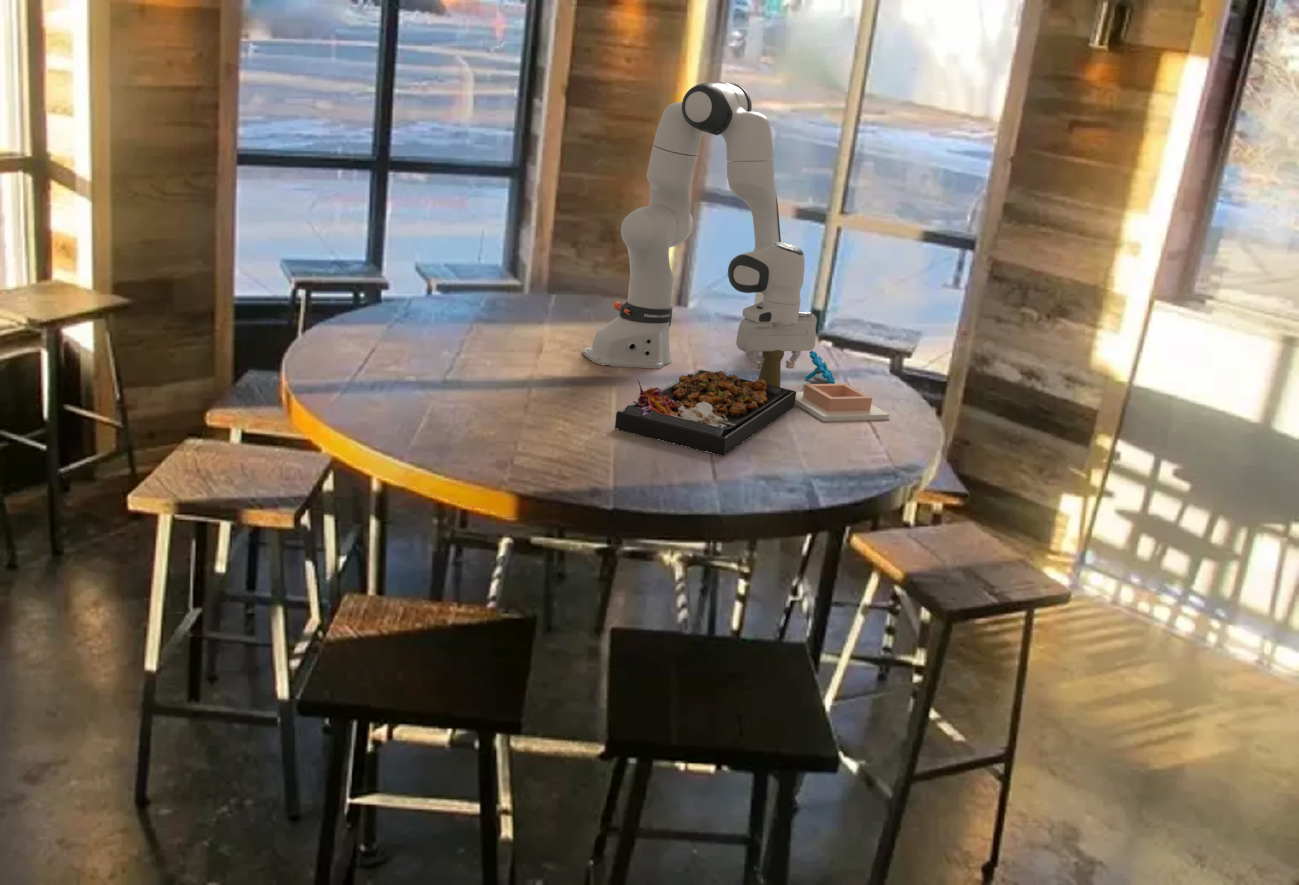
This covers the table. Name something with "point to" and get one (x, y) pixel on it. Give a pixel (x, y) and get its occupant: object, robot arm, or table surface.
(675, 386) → the food platter
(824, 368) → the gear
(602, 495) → the table surface
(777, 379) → the cork
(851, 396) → the holder
